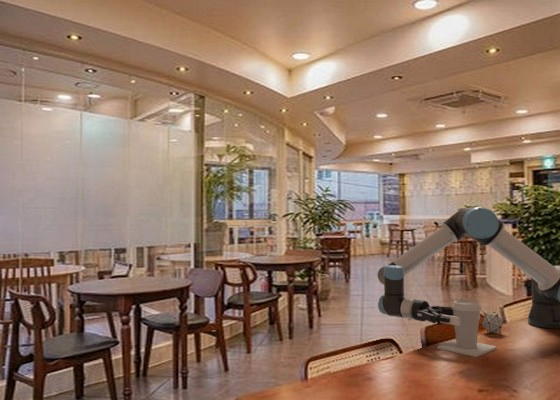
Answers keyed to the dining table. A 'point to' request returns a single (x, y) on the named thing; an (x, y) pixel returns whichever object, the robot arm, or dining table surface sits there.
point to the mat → (474, 352)
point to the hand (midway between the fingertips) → (469, 318)
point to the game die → (492, 323)
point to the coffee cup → (466, 323)
